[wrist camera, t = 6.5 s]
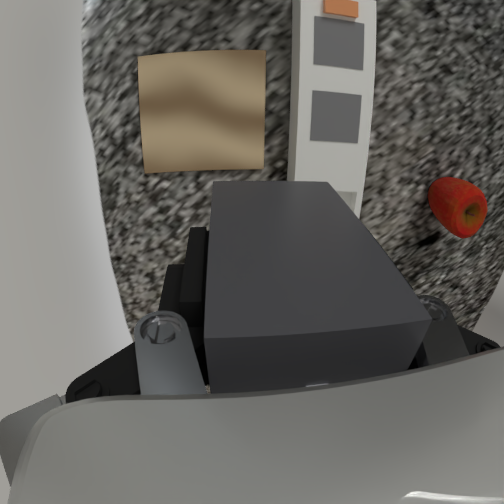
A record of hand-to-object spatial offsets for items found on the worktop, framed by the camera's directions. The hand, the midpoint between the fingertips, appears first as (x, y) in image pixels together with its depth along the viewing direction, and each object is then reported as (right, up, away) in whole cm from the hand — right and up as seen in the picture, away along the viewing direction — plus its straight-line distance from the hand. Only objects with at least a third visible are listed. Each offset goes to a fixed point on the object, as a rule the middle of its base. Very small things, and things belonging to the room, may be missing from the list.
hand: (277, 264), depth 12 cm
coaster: (-6, +14, +17) cm, 23 cm away
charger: (0, +1, +2) cm, 2 cm away
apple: (+22, +8, +24) cm, 33 cm away
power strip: (+6, +15, +18) cm, 24 cm away
